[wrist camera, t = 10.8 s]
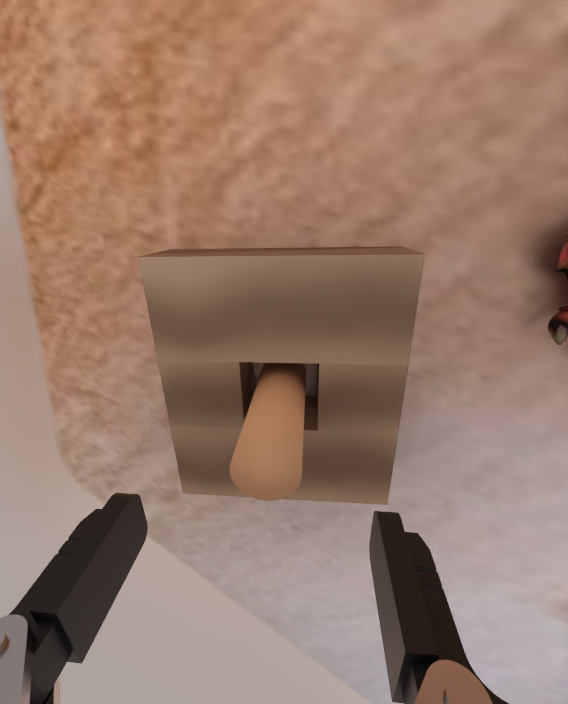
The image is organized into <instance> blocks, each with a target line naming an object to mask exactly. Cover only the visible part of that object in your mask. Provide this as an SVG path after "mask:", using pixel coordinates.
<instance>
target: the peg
mask: <svg viewBox="0 0 568 704" xmlns="http://www.w3.org/2000/svg"><path fill="white" fill-rule="evenodd" d="M305 389H306V363H264V365H263V368H262V371H261V374H260V377H259V380H258V383H257V386H256V389H255V392H254V395H253V398H252V401H251V404H250V407H249V410H248V412H247V415H246V418H245V421H244V424H243V427H242V430H241V433H240V436H239V439H238V442H237V445H236V448H235V451H234V454H233V457H232V460H231V463H230V476H231V479H232V481H233V483H234V484H235V485H236V487H237V488H238V489H239V490H241V491H242V492H243V493H245V494H246V495H248V496H250V497H253V498H256V499H260V500H278V499H282V498H285V497H287V496H289V495H291V494H292V493H293V492H294V491H295V490H296V489H297V488H298V486H299V484H300V482H301V477H302V457H303V434H304V411H305Z"/></svg>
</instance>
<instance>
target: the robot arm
mask: <svg viewBox="0 0 568 704" xmlns="http://www.w3.org/2000/svg"><path fill="white" fill-rule="evenodd" d="M146 535H147V521H146V517H145V513H144V510H143V506H142V502H141V498H140V496H139V495H138V494H125V493H115V494H114V495H112V496H111V498H110V499H109V500H108V502H107V503H106V505H105V506H104V507H103V509H96V510H94V511H93V512H92V513H91V514H90V515H88V516H87V517H86V518H85V519H83V521H81V522H80V523H79V525H78V526H77V527H76V529H75V530H74V531H73V533H72V534H71V535H70V536H69V539H68V541H66V542H65V543H64V544H63V546H62V547H61V548H60V550H59V553H58V554H57V555H55V556H54V558H53V559H52V560H51V562H50V563H49V564H48V566H47V567H46V568H45V569H44V571H43V572H42V573H41V575H40V576H39V577H38V579H37V580H36V581H35V583H34V584H33V585H32V587H31V588H30V589H29V591H28V592H27V593H26V595H25V596H24V597H23V599H22V600H21V601H20V603H19V604H18V605H17V606H16V608H15V609H14V610H13V611H12V612H11V613H10V614H9V615H8V616H5V617H2V618H0V704H59V702H60V679H59V675H60V673H61V671H62V670H63V668H64V666H65V664H66V662H75V663H82V662H83V660H84V658H85V656H86V654H87V652H88V650H89V648H90V646H91V645H92V643H93V641H94V639H95V637H96V635H97V633H98V631H99V629H100V627H101V625H102V623H103V621H104V619H105V618H106V615H107V614H108V612H109V610H110V608H111V606H112V604H113V602H114V600H115V598H116V596H117V594H118V592H119V590H120V589H121V587H122V585H123V583H124V581H125V579H126V577H127V575H128V573H129V571H130V569H131V567H132V565H133V563H134V561H135V560H136V558H137V556H138V554H139V552H140V550H141V548H142V546H143V544H144V542H145V539H146ZM370 563H371V569H372V576H373V582H374V588H375V595H376V601H377V607H378V614H379V620H380V627H381V633H382V639H383V646H384V652H385V658H386V665H387V671H388V678H389V684H390V690H391V697H392V702H398V703H404V704H508V703H507V702H505V701H503V700H502V699H500V698H499V697H497V696H496V695H495V694H494V693H493V692H491V691H490V690H489V689H488V688H487V687H486V686H485V685H484V684H483V683H482V682H481V680H480V679H479V678H478V676H477V675H476V674H475V672H474V671H473V669H472V667H471V666H470V664H469V662H468V660H467V657H466V655H465V652H464V649H463V646H462V643H461V641H460V638H459V635H458V632H457V629H456V626H455V623H454V620H453V617H452V614H451V611H450V608H449V605H448V602H447V599H446V596H445V593H444V590H443V589H442V584H441V581H440V578H439V575H438V573H437V572H436V567H435V564H434V561H433V558H432V555H431V552H430V549H429V548H428V547H427V545H426V544H425V543H424V541H423V540H422V539H421V537H420V536H419V534H418V533H411V532H405V531H404V528H403V524H402V521H401V517H400V515H399V513H395V512H380V511H375V512H374V515H373V522H372V529H371V537H370Z"/></svg>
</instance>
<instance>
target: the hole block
mask: <svg viewBox="0 0 568 704" xmlns="http://www.w3.org/2000/svg"><path fill="white" fill-rule="evenodd" d="M424 255H425V254H422V253H419V252H416V251H413V250H410V249H407V248H405V247H342V248H252V249H170V250H166V251H162V252H157V253H153V254H149V255H145V256H140V257H138V258H139V264H140V269H141V274H142V280H143V285H144V290H145V295H146V301H147V306H148V311H149V316H150V322H151V327H152V332H153V337H154V343H155V348H156V353H157V358H158V364H159V369H160V374H161V379H162V385H163V390H164V395H165V401H166V406H167V411H168V416H169V422H170V427H171V432H172V437H173V443H174V448H175V453H176V458H177V464H178V469H179V474H180V479H181V485H182V490H183V493H187V494H205V495H223V496H241V497H250V496H248V495H246V494H245V493H243V492H242V491H241V490H239V489H238V488H237V487H236V485H235V484H234V483H233V481H232V479H231V476H230V463H231V460H232V457H233V454H234V451H235V448H236V445H237V442H238V439H239V436H240V433H241V430H242V427H243V424H244V421H245V418H246V415H247V412H248V410H249V407H250V404H251V401H252V398H253V395H254V392H255V384H254V368H253V362H262V363H313V364H318V369H317V397H315V396H305V411H304V434H303V457H302V477H301V482H300V484H299V486H298V488H297V489H296V490H295V491H294V492H293V493H292V494H291V495H289V496H287V497H285V498H282V499H295V500H313V501H331V502H349V503H367V504H385V505H387V503H388V496H389V490H390V483H391V476H392V469H393V463H394V456H395V449H396V443H397V436H398V429H399V422H400V416H401V409H402V402H403V396H404V389H405V382H406V375H407V369H408V362H409V355H410V349H411V342H412V335H413V328H414V322H415V315H416V308H417V302H418V295H419V288H420V281H421V275H422V268H423V261H424Z"/></svg>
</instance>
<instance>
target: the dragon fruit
mask: <svg viewBox="0 0 568 704" xmlns="http://www.w3.org/2000/svg"><path fill="white" fill-rule="evenodd" d="M566 237H568V235H567V236H566ZM556 272H562V273H563V274H564V278H565V279H566V281H568V241H567V242H566V243H565V244H564V245H563V246H562V251H561V254H560V259H559V264H558V267H557V270H556ZM560 309H562V310H560ZM558 310H560V311H559V312H558V313H557V314H556V315H555V316H554V317H553V318H552V319H551V320H550V322H549V325H548V330H549V332H550V334H551V337H552V338H553V340H554V341H555V342H556V343H557V344H558V345H562V343H563V342H564V341H565V340H566V337H567V333H568V306H564V307H561V308H559V309H558Z"/></svg>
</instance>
